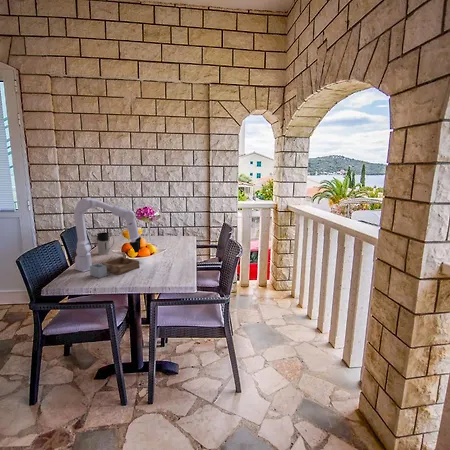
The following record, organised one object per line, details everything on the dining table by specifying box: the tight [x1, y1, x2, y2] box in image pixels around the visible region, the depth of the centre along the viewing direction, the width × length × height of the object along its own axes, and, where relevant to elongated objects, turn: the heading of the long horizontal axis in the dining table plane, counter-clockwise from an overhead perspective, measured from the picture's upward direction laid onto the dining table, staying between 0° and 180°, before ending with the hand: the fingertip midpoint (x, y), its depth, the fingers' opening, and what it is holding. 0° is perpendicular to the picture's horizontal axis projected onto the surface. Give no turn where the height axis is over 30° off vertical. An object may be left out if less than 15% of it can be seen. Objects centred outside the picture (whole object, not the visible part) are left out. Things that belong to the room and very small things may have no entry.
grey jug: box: [96, 231, 115, 256], centre depth 213 cm, size 9×14×15 cm, turn 71°
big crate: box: [101, 256, 140, 275], centre depth 180 cm, size 16×15×4 cm
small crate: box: [89, 263, 108, 279], centre depth 168 cm, size 8×5×6 cm, turn 59°
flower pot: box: [120, 246, 126, 258], centre depth 200 cm, size 9×9×9 cm
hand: (137, 250), depth 183 cm, fingers open, 7 cm apart
